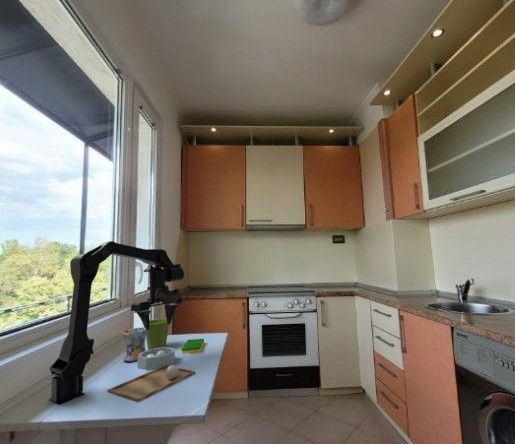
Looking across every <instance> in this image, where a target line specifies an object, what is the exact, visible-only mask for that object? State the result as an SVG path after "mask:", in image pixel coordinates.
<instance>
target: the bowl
mask: <svg viewBox="0 0 515 444" xmlns="http://www.w3.org/2000/svg"><path fill="white" fill-rule="evenodd" d="M161 350H163V351H165V352H166V354H165V355H162V356H157V357H149V358H148V357H147V356H148V355H149V354H154V355H155V356H156V353H157V352H158V351H161ZM175 360H176V348H175V347H168V346H166V347H161V348H153V349H150V350H149V349H147V350H146V351H144V352H141V353H140V354H139V356H138V361H137V369H140V370H145V371H149V370H150V371H153V370H155V369H158V368H160V367H163V366H165V365H167V366H171V365H174V364H175Z"/></svg>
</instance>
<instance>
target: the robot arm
mask: <svg viewBox="0 0 515 444" xmlns="http://www.w3.org/2000/svg"><path fill="white" fill-rule="evenodd" d="M110 256H116V257H123V258H126V259H127V258H129V259H133V260H137V261H138V260H139V261H141V262H142V263H144V264H147V267H146V268H144V270H143V273H148V275H149V279H148V280H149V286H147V288H146V289H147V291H148V290H149V298H147V300H140V301H134V302H132V303H131V305H130V311H131V312H134V313H135V314H137V316H138V317H139V319H140V320H141V323H143V324H144V325H143V324H142V325H143V327H144V326H145V328H146V330H149V326H150V324H149V320H150V315H151V312H152V309H151V308H152V307H157V306H162V305H164V311H165V319H167V324H169V325H171V323H172V319H173V317H174V313H175V311H176V309H177V308H178V307H180V305H181V304H182V303H183V297H182V295H181V290H180V289H179V288H176V289H175V288H174V289H173V290H170V288H169V285H167V283H173V282H174V283H175V282H181V281H182V280H183V279H184V277H185V272H184V269H183V267H181V263H175V264H174V263H173V262H172V260H171V259H170V257H169V255H168V253H167V251H166V250H165V249H161V248H160V249H158V248H157V249H154V248H152V249H150V248H149V249H147V248H142V247H141V248H140V247H136V246H132V245H127V244H123V243H117V242H115V241H111V240H109V241H105V242H102V243H101V244H100V245H99V246H96V247H95V248H92V249H90V250H88V251H87V252H85V253H81V254H77V255H75V256H73V257H72V258H71V259H70V264H69V266H70V268H69V269H70V275H71V278H72V282H73V290H72V297H71V298H72V299H71V308H70V317H69V324H68V334H67V336H66V338H65V339H64V341H63V343H62V346H61V350H60V353H59V357H57V359H56V360H55V361H54V362H53V363H52V364H51V366H50V367H49V368H48V369H49V371H50V373H51V375H52V376H53V377H51V389H50V390H51V391H50V393H51V394H50V395H51V397H50V398H48V399H47V400H48V401H49V402H51V403H53V404H55V405H58V406H60V405H63V404H65V403H67V402H70V401H72V400H74V399H77V398H81V397H82V396H84V395H85V393H84V375H83V374H84V371H85V368H86V365H87V364H88V363H89V362H90V360H91V357H92V355H94V351H93V349H94V348H93V347H94V343H95V339H94V338H91V337H89V336H88V323H89V313H90V305H91V304H90V303H91V295H92V294H91V293H92V286H93V285H92V284H93V282H94V281H95V279H96V277H97V276H98V275H97V274H98V272H99V269H100V264H102V263H103V262H105V261H106V260H107V259H108V258H109V257H110ZM150 309H151V310H150Z"/></svg>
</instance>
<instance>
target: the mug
mask: <svg viewBox="0 0 515 444" xmlns="http://www.w3.org/2000/svg"><path fill="white" fill-rule="evenodd" d="M146 333H147V330H146V328H144V327H134V328H129V329H125V330H122V331H121V335H122V336H123V339H124V343H125V353H124V356H123V357H122V360H123V361H125V362H131V363H132V362H138V356H139V354H140V353H141V352H144V351H147V350H146V345H145V344H146V343H145V341H146Z"/></svg>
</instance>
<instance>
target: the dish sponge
mask: <svg viewBox="0 0 515 444" xmlns="http://www.w3.org/2000/svg"><path fill="white" fill-rule="evenodd" d="M204 345H205V338H195V339H194V338H193V339H187V341H185V343H184V345H183V346H182V348H181V354H192V355H193V354H200V353H201V352H202V349H203V347H204Z"/></svg>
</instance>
